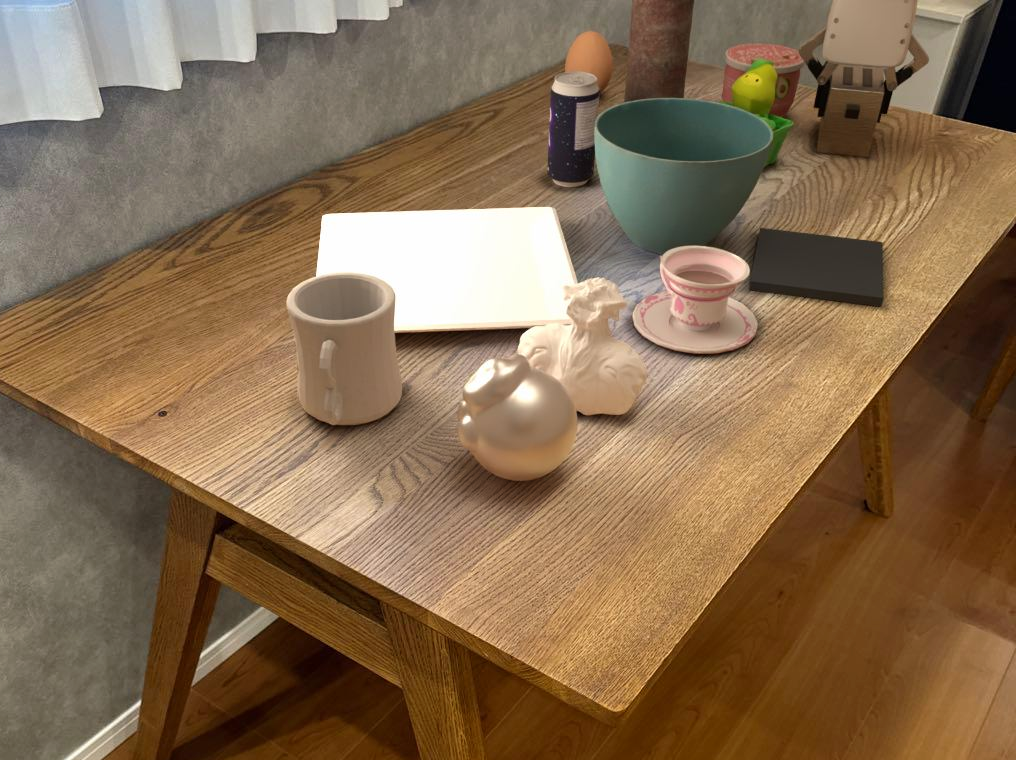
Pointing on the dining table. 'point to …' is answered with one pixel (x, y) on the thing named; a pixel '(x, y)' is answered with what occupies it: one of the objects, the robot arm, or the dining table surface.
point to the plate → (457, 265)
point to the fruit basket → (761, 101)
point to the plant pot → (678, 167)
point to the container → (784, 65)
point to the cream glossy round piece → (516, 419)
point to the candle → (658, 49)
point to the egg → (591, 57)
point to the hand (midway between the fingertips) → (848, 115)
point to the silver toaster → (851, 110)
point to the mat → (818, 267)
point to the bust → (588, 351)
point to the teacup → (697, 303)
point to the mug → (345, 347)
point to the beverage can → (572, 128)
